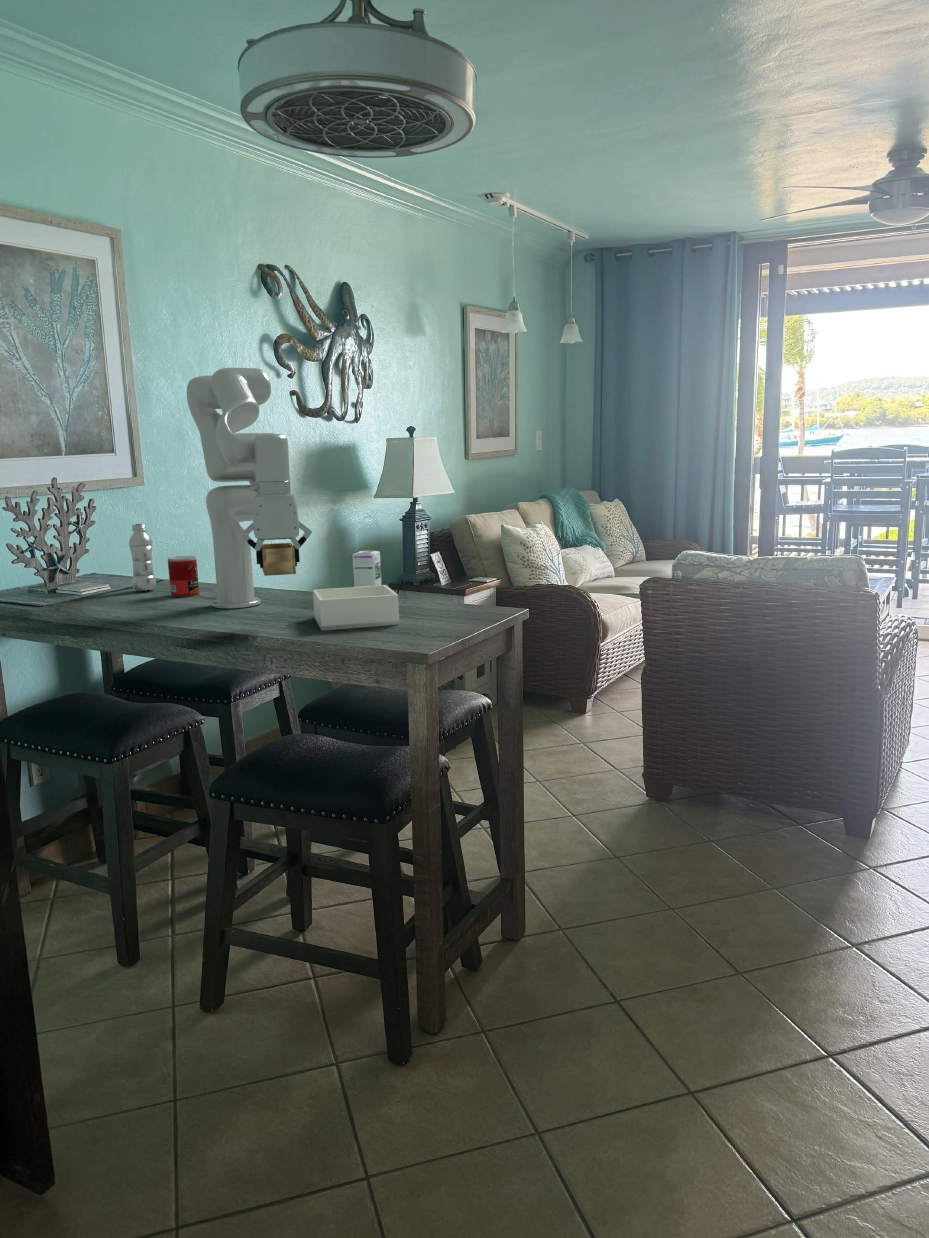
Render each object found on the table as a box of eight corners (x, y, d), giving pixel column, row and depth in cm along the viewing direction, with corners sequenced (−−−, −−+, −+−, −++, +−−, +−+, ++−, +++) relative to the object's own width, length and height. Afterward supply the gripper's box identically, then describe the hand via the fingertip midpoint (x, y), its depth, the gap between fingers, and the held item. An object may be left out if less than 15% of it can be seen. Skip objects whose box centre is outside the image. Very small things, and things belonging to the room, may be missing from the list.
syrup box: (377, 609, 225) (374, 553, 222) (354, 609, 226) (352, 553, 224) (383, 605, 231) (381, 550, 228) (361, 605, 232) (359, 550, 229)
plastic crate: (321, 630, 201) (319, 600, 200) (314, 617, 216) (312, 589, 215) (399, 624, 206) (398, 594, 204) (387, 612, 221) (385, 584, 219)
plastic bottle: (132, 590, 266) (125, 524, 263) (156, 588, 269) (149, 522, 265) (133, 593, 261) (126, 525, 257) (157, 591, 263) (151, 524, 259)
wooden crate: (264, 575, 200) (262, 549, 199) (262, 569, 209) (260, 544, 208) (295, 574, 202) (294, 547, 200) (292, 567, 211) (290, 542, 210)
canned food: (194, 597, 252) (191, 558, 250) (167, 597, 252) (163, 559, 250) (203, 592, 259) (199, 555, 257) (176, 593, 259) (172, 556, 257)
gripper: (234, 491, 196) (240, 571, 200) (314, 489, 200) (317, 566, 204) (234, 489, 203) (239, 566, 207) (310, 487, 207) (314, 562, 211)
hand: (278, 565), depth 205 cm, fingers closed on wooden crate, 7 cm apart
